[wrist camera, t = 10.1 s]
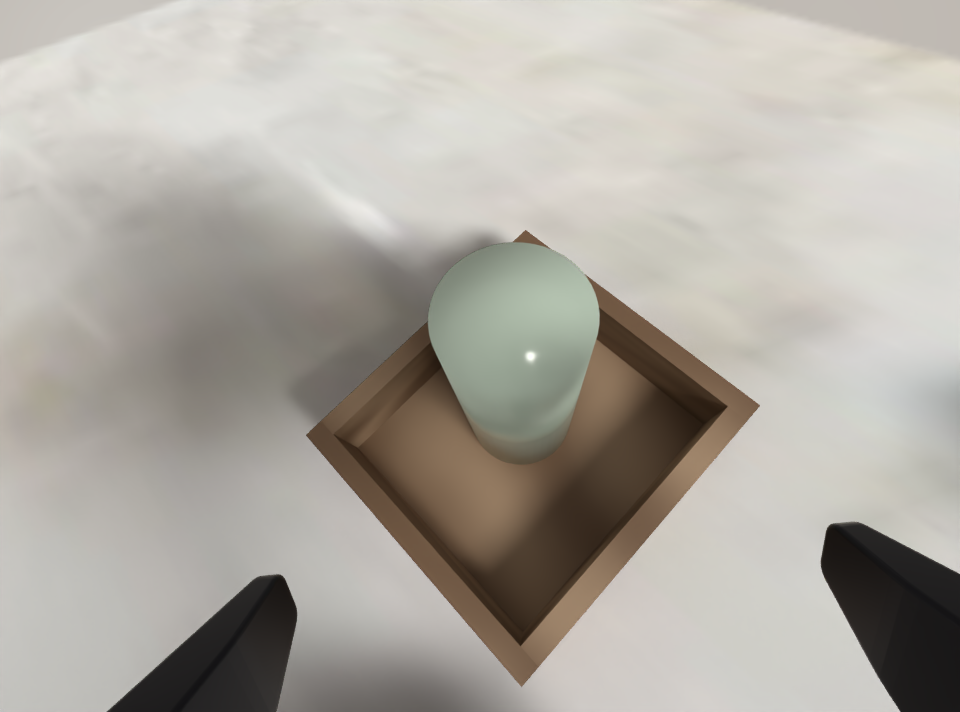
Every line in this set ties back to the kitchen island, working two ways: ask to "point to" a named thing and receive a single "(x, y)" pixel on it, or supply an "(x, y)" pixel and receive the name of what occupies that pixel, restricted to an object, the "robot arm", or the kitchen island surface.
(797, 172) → the kitchen island surface
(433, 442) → the walnut tray
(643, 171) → the kitchen island surface
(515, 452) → the mint tapered capsule
